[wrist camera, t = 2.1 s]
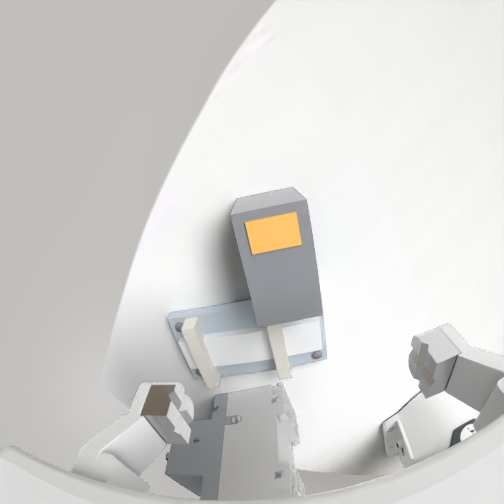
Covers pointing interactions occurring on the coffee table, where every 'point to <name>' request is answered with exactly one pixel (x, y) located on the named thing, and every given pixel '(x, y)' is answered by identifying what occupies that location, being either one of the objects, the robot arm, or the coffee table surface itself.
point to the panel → (244, 342)
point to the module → (278, 256)
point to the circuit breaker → (241, 449)
